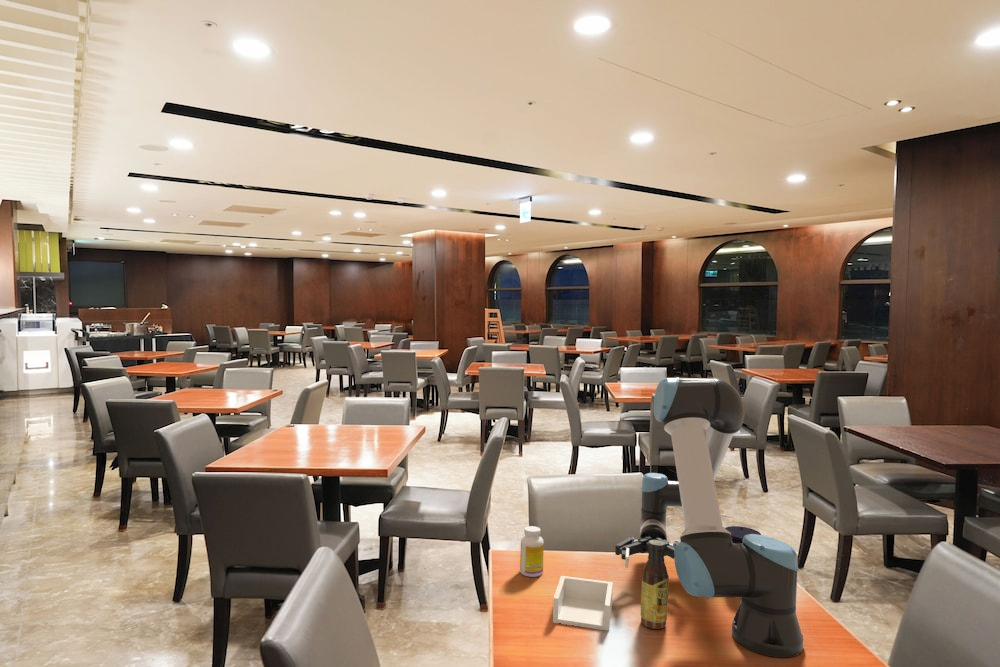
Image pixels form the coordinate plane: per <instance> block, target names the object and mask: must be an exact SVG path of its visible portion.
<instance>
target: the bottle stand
mask: <svg viewBox="0 0 1000 667" xmlns="http://www.w3.org/2000/svg"><path fill="white" fill-rule="evenodd" d="M613 586H614V582H613V581H605V580H598V579H591V578H583V577H575V576H567V575H560V578H559V581H558V583H557V587H556V590H555V592H554V596H553V600H552V606H553V607H552V608H553V609H552V623H553V624H559V623H561V624H560V625H566V624H567V626H572V625H574V627H579V626H580V627H581V628H586V629H593V630H601V631H608V632H609V631H610V626H611V619H612V609H613V593H614V592H613V590H614V587H613Z"/></svg>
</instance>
